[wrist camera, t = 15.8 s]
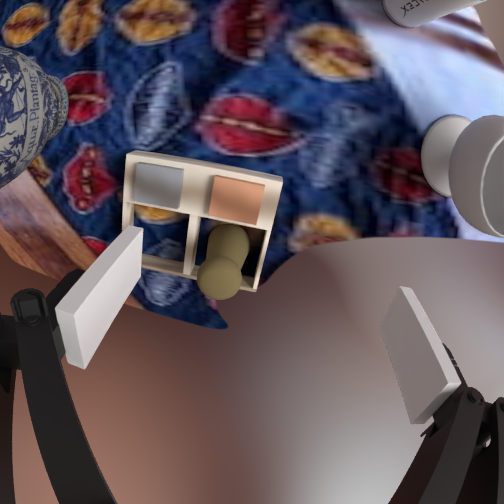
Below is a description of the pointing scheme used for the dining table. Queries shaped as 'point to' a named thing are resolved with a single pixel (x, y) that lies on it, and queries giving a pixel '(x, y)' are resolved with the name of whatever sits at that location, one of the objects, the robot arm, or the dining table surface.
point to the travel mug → (422, 10)
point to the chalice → (468, 168)
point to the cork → (223, 262)
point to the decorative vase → (27, 112)
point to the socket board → (199, 201)
